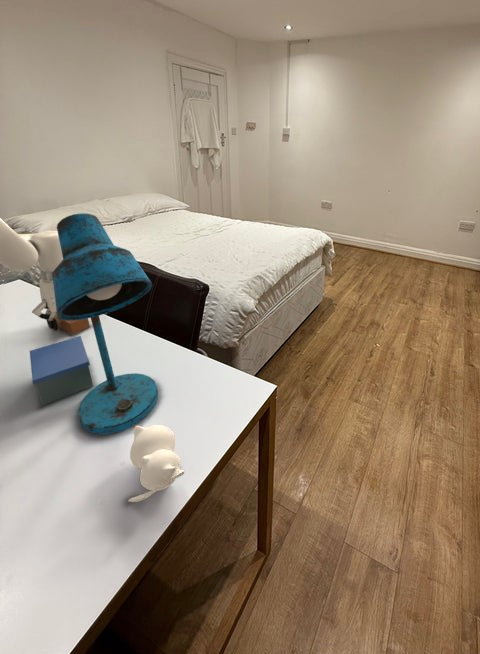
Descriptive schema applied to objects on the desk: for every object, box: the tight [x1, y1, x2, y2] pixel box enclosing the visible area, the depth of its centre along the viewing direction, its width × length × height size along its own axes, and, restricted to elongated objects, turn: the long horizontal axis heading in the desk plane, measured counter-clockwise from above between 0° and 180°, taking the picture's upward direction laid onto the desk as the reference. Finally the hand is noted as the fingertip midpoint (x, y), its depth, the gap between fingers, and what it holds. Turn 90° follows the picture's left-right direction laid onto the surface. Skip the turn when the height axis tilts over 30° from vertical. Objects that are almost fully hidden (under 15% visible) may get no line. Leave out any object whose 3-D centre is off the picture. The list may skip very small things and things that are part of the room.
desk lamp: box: [52, 212, 159, 435], centre depth 65 cm, size 16×22×45 cm
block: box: [54, 312, 91, 336], centre depth 101 cm, size 11×5×4 cm, turn 63°
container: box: [29, 335, 94, 406], centre depth 79 cm, size 13×11×8 cm
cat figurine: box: [128, 424, 185, 503], centre depth 59 cm, size 9×11×12 cm
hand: (70, 321), depth 101 cm, fingers open, 8 cm apart
